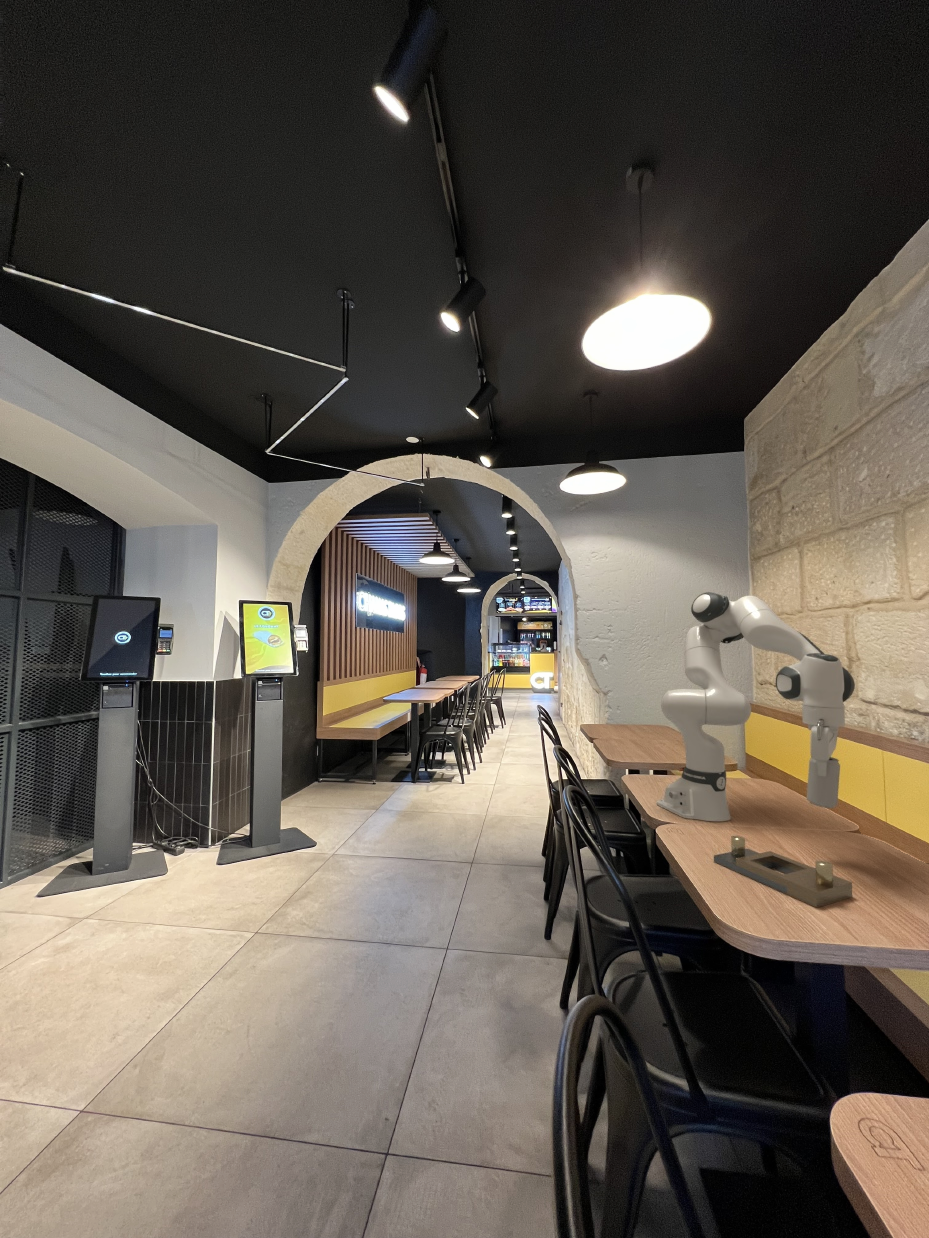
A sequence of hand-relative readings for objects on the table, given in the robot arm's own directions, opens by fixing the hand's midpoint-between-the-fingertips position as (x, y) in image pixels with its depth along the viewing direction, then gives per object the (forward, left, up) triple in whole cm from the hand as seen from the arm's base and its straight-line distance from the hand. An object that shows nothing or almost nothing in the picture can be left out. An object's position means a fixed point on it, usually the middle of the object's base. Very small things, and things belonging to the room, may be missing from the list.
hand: (824, 772), depth 130 cm
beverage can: (-1, 0, -8) cm, 8 cm away
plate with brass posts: (+3, -23, -21) cm, 31 cm away
